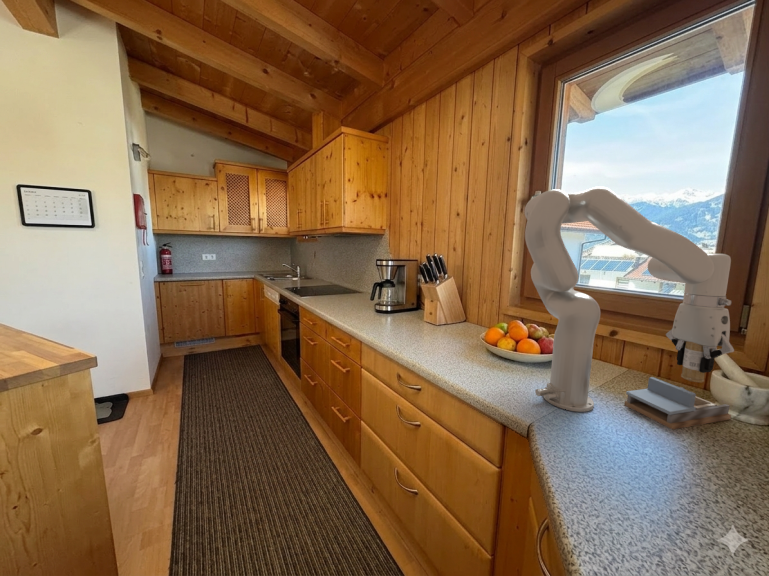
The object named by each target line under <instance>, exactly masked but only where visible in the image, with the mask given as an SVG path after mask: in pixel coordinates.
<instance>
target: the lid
mask: <svg viewBox="0 0 769 576" xmlns="http://www.w3.org/2000/svg"><path fill="white" fill-rule="evenodd" d="M647 383H648V384H647V388H643V389H634V390H627V391H626V393H625V395H627V396H628V395H629V396H631V397H633V398H635V399H637V400H640V401H642V402H644V403H646V404H648V405H650V406H652V407H654V408H656V409H658V410H661V411H663V412H665V413H667V414H669V415H672V414H678V413H684V412H690V411H695V409H696V408H695V407H694V403H695V396H696V395H697V394H696V393H695V392H693V391H690V390H687V389H682V388H683V387H682V388H680V387H681V386H677V385H674V384H672V383H669V382H667V381H664V380H661V379H658V378H656V377H654V376H651V377H648V381H647Z"/></svg>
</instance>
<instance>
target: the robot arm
mask: <svg viewBox="0 0 769 576" xmlns="http://www.w3.org/2000/svg"><path fill="white" fill-rule="evenodd" d="M524 216H525V219H526V221H527V222H526V224H525V230H524V231H525V233H524V240H525V244H526V247H527V249H528V252H529V254H530V257H531V259H532V261H533V264H532V266H531V267H530V268H531V269H530V276H531V280H532V283H533V285H534V287H535V289H536V291H537V293H538V296H539V297H540V300H541V301H542V303H543V305H544V306H545V309H546V310H547V311H548V313H549V314H550V316H553V318H556V319H557V320H558V322H557V326H556V327H555V332H554V335H553V344H552V358H551V369H550V379H549V380H550V381H549V382H547V383H546V386H545V387H544V388H537V389H535V391H534V392H535V395H536V396H537V397H543V399H544V400H546V402H547V403H549V404H551V405H553V406H555V407H557V408H559V409H563V410H565V409H566V411H570V412H576V413H577V412H579V413H581V412H582V413H585V412H589V411H591V410H593V409H594V408H595V407H594V406H595V402H594V400H593V399H592V398H591V397H589V389H590V380H591V371H592V362H593V361H592V359H593V354H594V353H593V351H594V343H595V336H596V332H597V329H598V326H599V323H600V320H601V309H600V305H599V303H598V302H597V300H595V299H594V297H592V296H591V295H589V294H587V293H584V292H581V291H578V290H575V289H574V288H575V287H576V285H577V284H578V281H579V273H578V269H577V267H576V265H575V264H574V260H573V259H572V257H571V254H570V253H569V252H568V249H567V247H566V245H565V242H564V241H563V237H562V234H561V228H562V224H563V225H564V224H574V223H581V222H582V223H583V222H588V223H590V224H591V225H592V226H594V227H595V228H596V229H597V230H599V231H600V232H601V233H602V234H604V235H605V236H606V237H607V238H609V239H610V240H611V241H612V242H613V243H615V244H616V245H618V246H620V247H622V248H625V249H628V250H631V251H634V252H638V253H640V254H643V255H646V256H648V257H650V259H649V260H648V263H647V271H648V273H649V274H650V275H651V276H652V277H653V278H656V279H658V280H660V281H661V280H662V281H667V282H675V283H680V284H684V291H683V292H684V293H683V297H682V303H680V304H679V305H678V307H677V310H676V313H675V317H674V320H673V324H672V328H671V329H670V330H669V331H667V333H665V336H666V337H667V338H668V339H669V340H670V341H671V343H672V344H673V345H674V346H675V350H677V354H676V365H678V366H683V359H684V351H685V346H686V342H687V341H689V342H693V343H696V344H698V345H702V346H703V350H704V357H702V358H701V363H700V370H699V371H700V372H702V373H706V374H707V373H711V372H712V371H713V369H714V364H715V359H716V358H718V357H720V356H722V355H726V354H729V353H734V351H735V349H734V347H733V345H732V344H731V342H730V335H731V333H730V331H731V321H730V320H731V319H730V312H729V309H728V308H725V306H731V305H732V300H730V299H727V295H726V294H727V289H728V284H729V283H728V282H729V278H730V269H731V264H732V263H731V262H732V259H731V256H730V255H728V254H726V253H710V252H709V253H708V252H705V250H703V249H702V248H700V246H698V245H697V243H694V242H693V241H692V240H690V239H688V238H687V237H686V236H684V235H682V234H680V233H678V232H677V231H674V230H671V229H669V228H667V227H665V226H663V225H660V224H659V223H656V222H654V221H651V220H650V219H648V218H647V217H646V216H644V215H643V214H642V213H640V212H639V211H638V210H637V209H635V208H634V207H633V206H631V205H630V204H629V203H628V202H627V201H625V200H624V199H623V198H622V197H621V196H619V195H618V194H617V193H616V192H614V191H613V190H611V189H610V188H608V187H606V186H595V187H592V188H588V189H585V190H583V191H579V192H573V193H566V192H565V191H563V190H561V189H549V190H546V191H544V192H542V193H540V194H538V195H535V196H534V197H532V198H531V199H529V200H528V202H527V203H526V205H525V207H524ZM718 347H721V348H719V349H718Z"/></svg>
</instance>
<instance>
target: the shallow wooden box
mask: <svg viewBox="0 0 769 576" xmlns="http://www.w3.org/2000/svg"><path fill="white" fill-rule="evenodd" d="M679 387H680V388H682V389H685V387H681V386H679ZM685 390H686V389H685ZM624 406H625V407H627V408H630V409H632V410H634V411H636V412H638V413H640V414H642V415H643V416H645V417H647V418H649V419H651V420H652V421H655V422H657V423H659V424H661V425H663V426H665V427H667V428H668V429H670V430H678V429H682V428H683V429H684V428H688V427H689V428H690V427H694V426H695V427H696V426H700V425H701V426H702V425H705V424H711V423H717V422H722V421H727V420H731V419H732V418H731V417H732V414H730V413H729V410H730V405H729V404H716V403H715V402H711V401H709V400H706V399H703V398H701V397H699V396H695V403H694V407H695V408H696V409H695V411H690V412H684V413H678V414H672V415H669V414H667V413H665V412H663V411H661V410H658V409H656V408H654V407H652V406H650V405H648V404H646V403H644V402H642V401H640V400H637V399H635V398H633V397H631V396H629V395H627V399H626V400H625V401H624Z"/></svg>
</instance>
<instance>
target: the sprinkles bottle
mask: <svg viewBox="0 0 769 576" xmlns="http://www.w3.org/2000/svg"><path fill="white" fill-rule="evenodd" d="M702 357H704V350H703V346H702V345H698V344H696V343H693V342H689V341H687V342H686V346H685V351H684V359H683V365H682V370H681V371H682V372H681V374H680V377H681V378H683V379H684V380H685V381H686V380H687V381H688V382H694V383H704V382H705V373H702V372H700V371H699V370H700V363H701V358H702Z"/></svg>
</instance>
